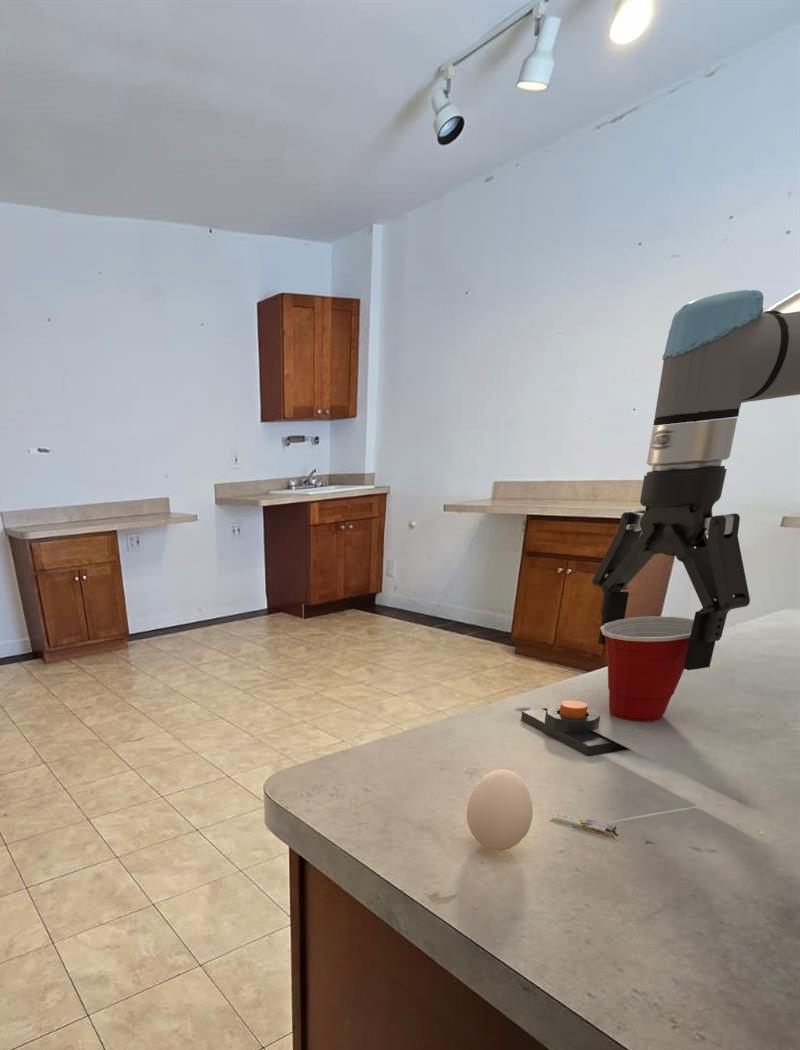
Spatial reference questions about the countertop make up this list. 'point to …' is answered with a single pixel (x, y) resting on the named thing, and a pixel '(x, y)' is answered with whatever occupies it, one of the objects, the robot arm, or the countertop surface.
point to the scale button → (573, 709)
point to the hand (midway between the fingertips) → (649, 654)
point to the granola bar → (588, 825)
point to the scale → (572, 730)
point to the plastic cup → (645, 664)
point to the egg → (499, 810)
